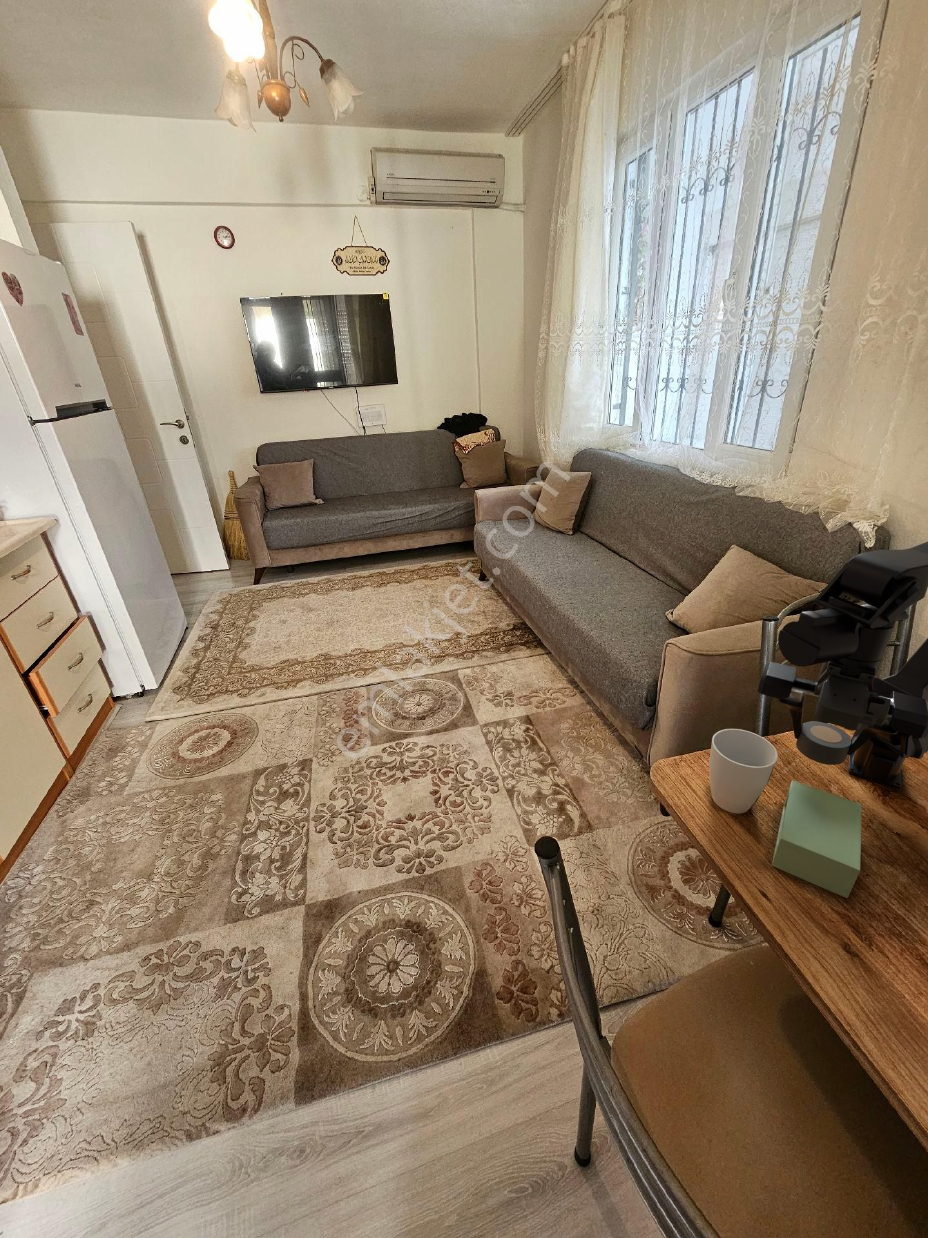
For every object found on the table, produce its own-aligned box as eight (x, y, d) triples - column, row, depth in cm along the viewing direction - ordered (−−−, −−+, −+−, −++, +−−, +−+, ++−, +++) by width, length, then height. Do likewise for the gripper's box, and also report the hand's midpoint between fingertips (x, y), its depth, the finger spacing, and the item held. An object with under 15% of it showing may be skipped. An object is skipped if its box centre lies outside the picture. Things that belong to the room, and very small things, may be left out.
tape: (798, 732, 77) (803, 716, 75) (846, 747, 73) (852, 730, 72) (793, 755, 72) (799, 737, 71) (844, 771, 69) (851, 753, 68)
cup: (769, 825, 70) (786, 770, 66) (707, 817, 72) (720, 764, 67) (752, 783, 77) (766, 731, 73) (695, 777, 79) (706, 726, 74)
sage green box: (783, 806, 73) (791, 780, 71) (850, 831, 69) (862, 804, 67) (771, 866, 65) (780, 838, 62) (847, 899, 60) (860, 870, 58)
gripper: (764, 657, 65) (739, 752, 72) (958, 704, 55) (907, 809, 62) (776, 625, 73) (753, 713, 80) (947, 660, 63) (903, 757, 70)
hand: (821, 745), depth 72 cm, fingers closed on tape, 6 cm apart
